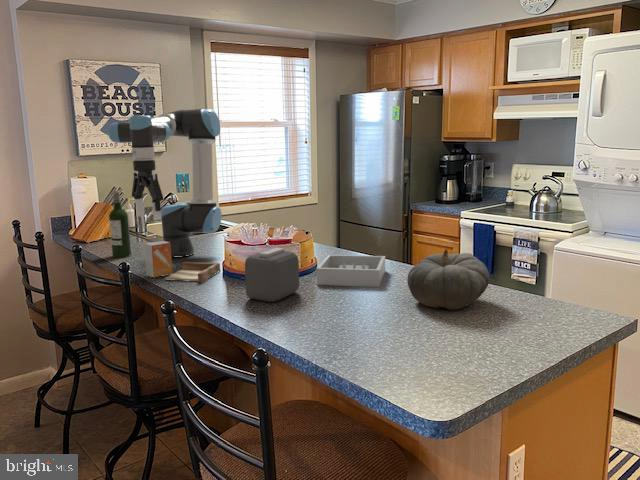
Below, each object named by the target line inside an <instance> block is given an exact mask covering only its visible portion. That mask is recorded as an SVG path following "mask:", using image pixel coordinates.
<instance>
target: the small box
mask: <svg viewBox="0 0 640 480" xmlns="http://www.w3.org/2000/svg"><path fill="white" fill-rule="evenodd" d="M143 245H144V246H143V247H144V259H145V260H144V261H145V273H146V276H147V275H149V276H152V277H157V276H161V275H166V274H171V273H172V274H173V262H172V258H171V244H170V242H166V241H163V240H160V241H153V242H152V241H151V242H146V243H144V244H143Z"/></svg>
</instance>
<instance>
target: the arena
mask: <svg viewBox="0 0 640 480" xmlns="http://www.w3.org/2000/svg"><path fill="white" fill-rule="evenodd" d="M180 265H181V269H179V270H177V271H176V272H174V273H172V275H169V276H165V277H164V280H165V279H175V280H189V281H188V282H190V281H198V282H203V283H205V282H206V281H205V280H207V279H208V278H210V277H211V276H212V275H214V274H215V273H217V272H218V271H220V272H221V266H220V265H221V264H220V263H219V262H199V261H198V262H194V261H193V262H190V261H183V262H181V264H180ZM217 274H218V273H217ZM214 276H215V275H214ZM211 278H212V277H211ZM211 278H210V279H211ZM208 280H209V279H208ZM208 280H207V281H208ZM204 281H205V282H204ZM198 282H197V283H198Z"/></svg>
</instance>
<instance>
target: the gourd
mask: <svg viewBox="0 0 640 480" xmlns="http://www.w3.org/2000/svg"><path fill="white" fill-rule="evenodd" d="M490 276H491V275H490V273H489V269H488V268H487V266H486V264H485V263H484V262H482V261H481V260H480V259H479V258H478V257H476V256H474V255H473V254H472V253H469V252H462V253H454V254H453V253H449V252H448V249H446V248H445V249H444V251H443V253H433V254H429V255H428V256H426V257H424V258H423V259H421V260H419V261H418V262H417V263H416V264H415V265H414V266H413V267H412V268H411V269H410V270H409V272H408V274H407V278H406V279H407V286H408V289H409V292H410V293H411V294H410V295H411V296H412V297H413V299H414V300H416V301H417V302H418V303H420V304H421V305H424V306H426V307H429V308H435V309H437V308H445V309H447V310H453V311H455V310H461V309H462V308H464V307H466V306H468V305H470V304H472V303H473V302H475V301H476V300H478V299H479V298H480V297H481V296H482V295H483V294H484V293H485V291H486V290H487V288H488V286H489V285H490V284H489V283H490V280H491V277H490Z"/></svg>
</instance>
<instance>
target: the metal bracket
mask: <svg viewBox="0 0 640 480" xmlns="http://www.w3.org/2000/svg"><path fill="white" fill-rule="evenodd" d="M368 267H369V266H367V265H364V263H362V265H355V262H354V265H345V263H343V265H340V267H339V268H348V269H368Z"/></svg>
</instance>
